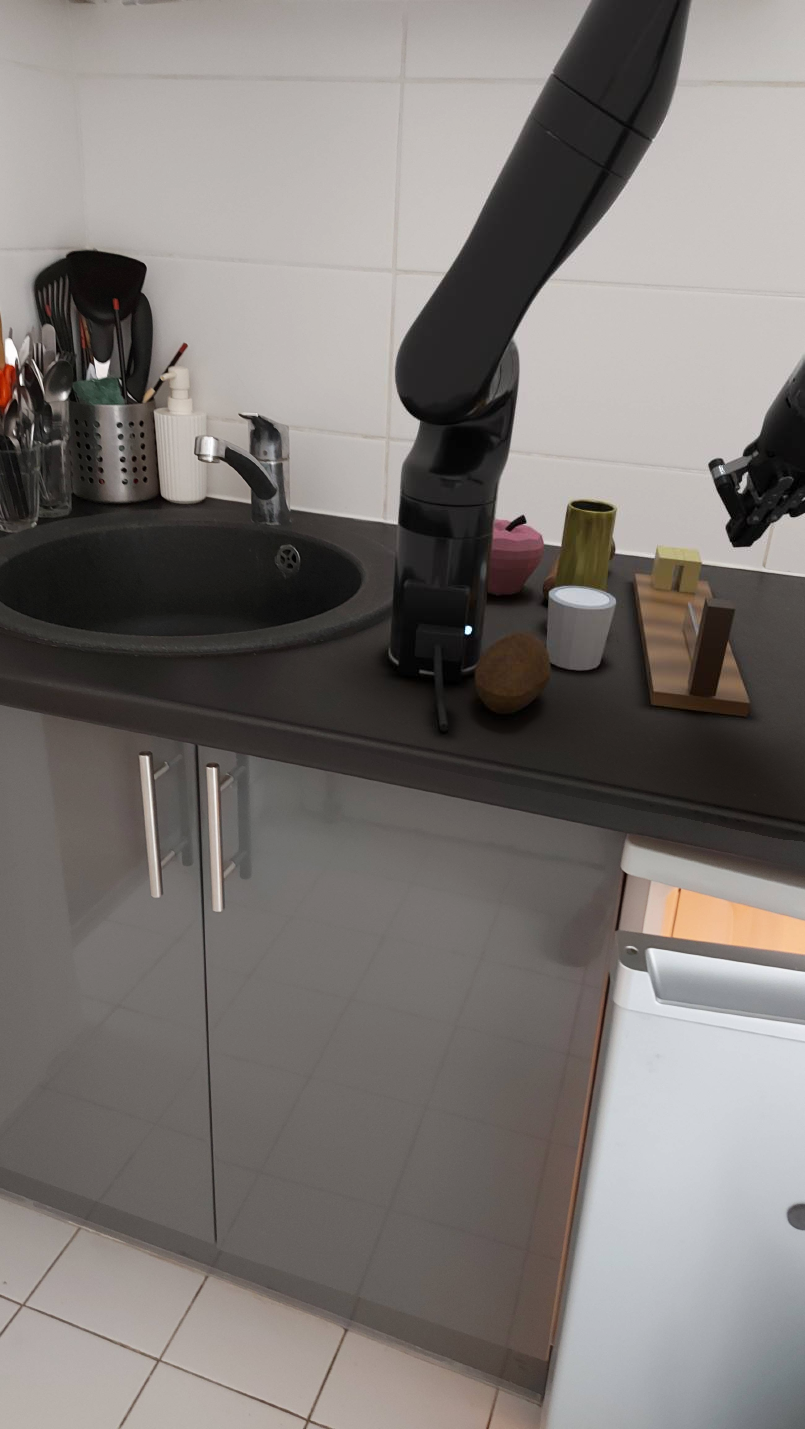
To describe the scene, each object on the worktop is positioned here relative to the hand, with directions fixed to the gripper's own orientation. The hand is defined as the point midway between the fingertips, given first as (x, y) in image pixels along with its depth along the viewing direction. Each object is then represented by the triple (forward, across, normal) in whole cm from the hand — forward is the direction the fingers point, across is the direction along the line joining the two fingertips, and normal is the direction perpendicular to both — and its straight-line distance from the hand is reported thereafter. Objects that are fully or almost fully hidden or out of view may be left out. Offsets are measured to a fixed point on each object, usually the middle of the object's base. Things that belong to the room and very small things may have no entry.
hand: (737, 538), depth 88 cm
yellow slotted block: (+32, -11, -16) cm, 37 cm away
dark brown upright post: (+18, -3, +2) cm, 18 cm away
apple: (+34, +11, -17) cm, 39 cm away
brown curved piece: (+35, 0, -18) cm, 39 cm away
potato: (+15, +19, +7) cm, 25 cm away
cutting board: (+25, -6, -4) cm, 26 cm away
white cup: (+22, +8, -1) cm, 23 cm away
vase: (+26, +6, -7) cm, 28 cm away
